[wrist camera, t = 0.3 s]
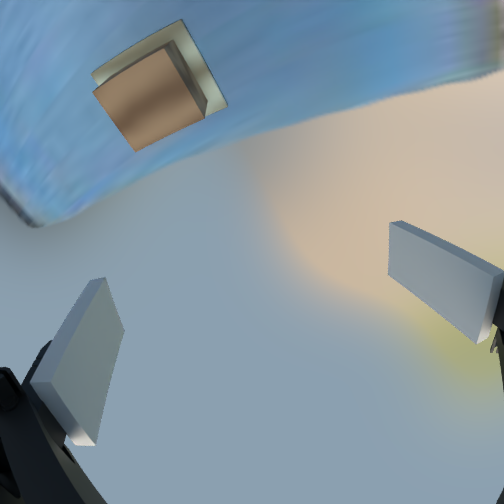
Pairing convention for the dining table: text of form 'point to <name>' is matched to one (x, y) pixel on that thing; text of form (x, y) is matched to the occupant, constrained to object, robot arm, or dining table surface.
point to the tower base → (157, 87)
